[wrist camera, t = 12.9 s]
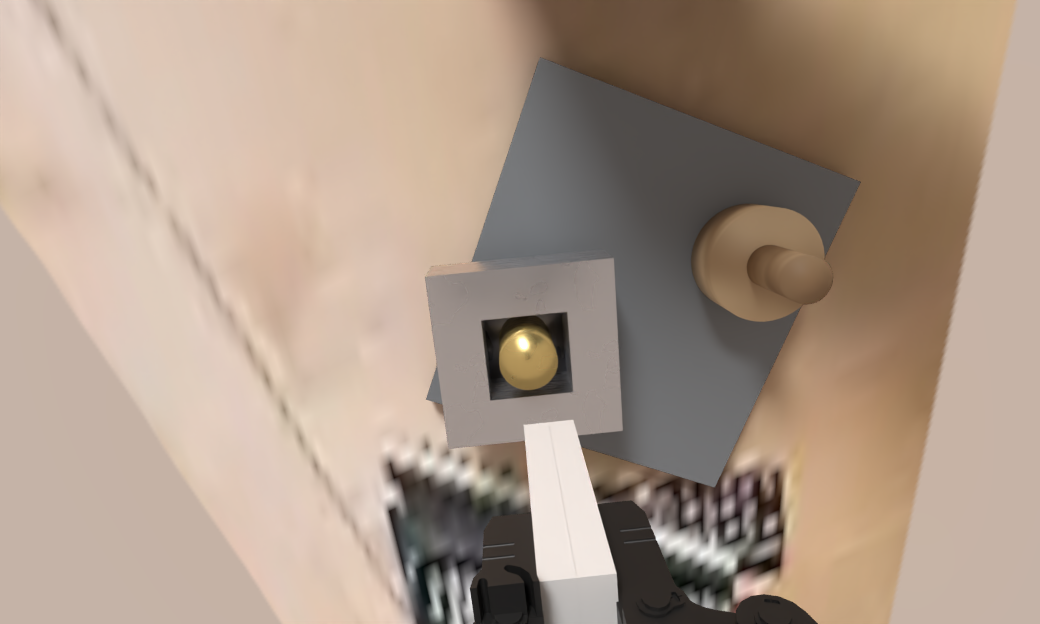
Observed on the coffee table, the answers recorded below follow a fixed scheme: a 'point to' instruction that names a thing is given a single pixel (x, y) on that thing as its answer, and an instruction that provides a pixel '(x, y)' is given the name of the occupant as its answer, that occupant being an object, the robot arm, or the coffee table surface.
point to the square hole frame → (513, 293)
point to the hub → (526, 349)
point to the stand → (760, 262)
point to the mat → (653, 252)
